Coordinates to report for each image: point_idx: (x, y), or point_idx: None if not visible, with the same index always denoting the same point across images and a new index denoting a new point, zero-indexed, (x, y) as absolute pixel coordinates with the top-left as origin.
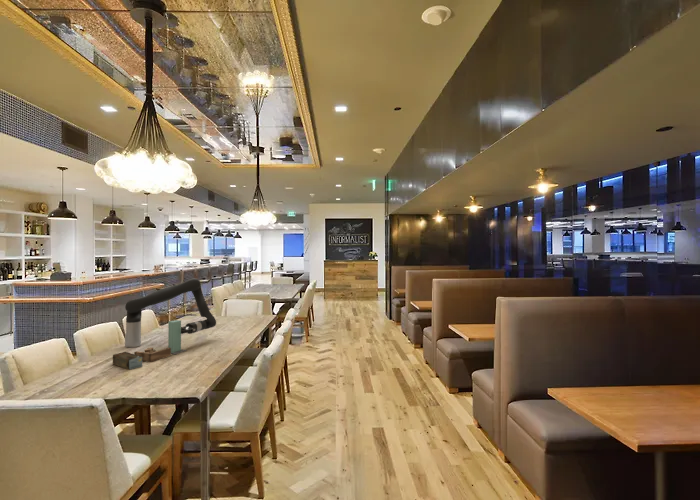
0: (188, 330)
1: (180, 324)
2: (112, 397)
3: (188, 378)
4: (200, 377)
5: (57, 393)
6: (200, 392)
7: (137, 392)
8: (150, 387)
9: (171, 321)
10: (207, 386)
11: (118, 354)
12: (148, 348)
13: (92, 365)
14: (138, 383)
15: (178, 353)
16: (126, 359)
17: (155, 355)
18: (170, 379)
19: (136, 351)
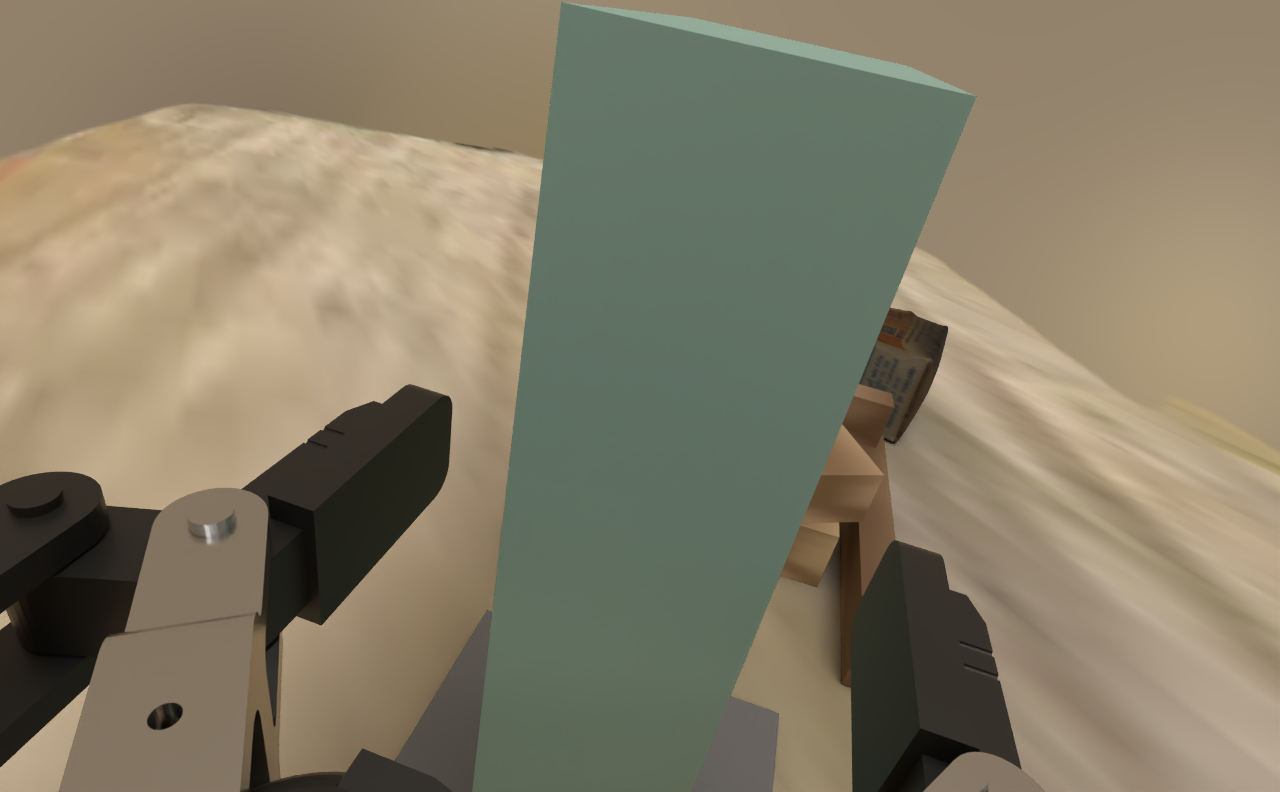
0: (126, 514)
1: (549, 238)
2: (520, 156)
3: (230, 173)
4: (152, 166)
5: None
6: (175, 107)
7: (448, 156)
8: (413, 165)
9: (891, 65)
10: (131, 119)
11: (892, 308)
12: (839, 444)
13: (1035, 405)
14: (490, 193)
15: (446, 681)
16: None
17: None
18: (338, 186)
19: (887, 403)
